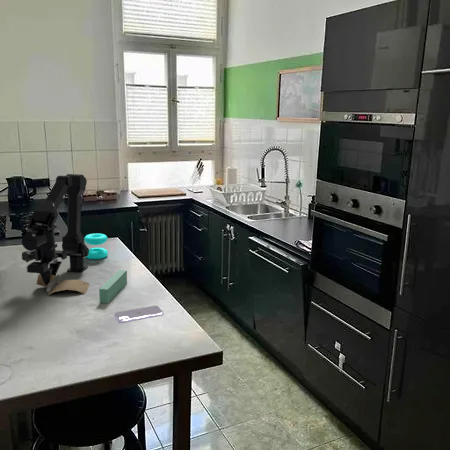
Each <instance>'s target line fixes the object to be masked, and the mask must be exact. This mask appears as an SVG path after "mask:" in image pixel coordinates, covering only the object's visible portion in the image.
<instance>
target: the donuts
mask: <svg viewBox="0 0 450 450" xmlns="http://www.w3.org/2000/svg"><path fill="white" fill-rule="evenodd" d="M107 241H108V236H107V235H106V234H104V233H97V232H96V233H89V234H86V235H85V237H84V243H85V244H87V245H89V246H90V245H92V246H97V245H98V246H99V245H102V244H105V243H106V242H107ZM88 249H89V254H88V256H86V257H85V258H86V259H89V260H101V259H105V258H107V256H108V254H109V252H108V250H107V249H106V248H104V247H92V248H88Z"/></svg>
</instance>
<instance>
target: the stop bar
mask: <svg viewBox="0 0 450 450" xmlns="http://www.w3.org/2000/svg"><path fill="white" fill-rule="evenodd" d="M127 283H128V270H127V269H117V271H116V272H115V273H114V274H113V275H112V276H111V277H110V278H109V279H108V280H107V281H106V282H105V283H104V284H103V285H101V286H100V288H98V294H99V303H101V304H109V303H110V302H111V301H112V300H113V299H114V297H116V295H117V294H119V292H120V291H121V290H123V287H124V286H126V284H127Z"/></svg>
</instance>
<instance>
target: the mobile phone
mask: <svg viewBox="0 0 450 450" xmlns="http://www.w3.org/2000/svg"><path fill="white" fill-rule="evenodd" d="M164 314H165V313H164V311H163V310H162V309H161V308H160V306H159V305H150V306H145V307H138V308H133V309H128V310H127V309H126V310H122V311H116V312H114V314H113V315H114V318H115V319H116V321H117V322H118V323H127V322H132V321H138V320H143V319H148V318H154V317H158V316H159V317H160V316H163V315H164Z"/></svg>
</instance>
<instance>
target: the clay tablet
mask: <svg viewBox="0 0 450 450" xmlns="http://www.w3.org/2000/svg"><path fill="white" fill-rule="evenodd" d="M90 286H91V284H90V283H89V282H87V281H85V280H81V279H65V280H62V281H61V280H60V281H59V283H57V284H56V286H55V287H54V288H53V289H52V290H51V292H50V293H48V294H47V296H49V295H51V294H53V293H56V292H60V291H66V290H68V291H76V292H79V293H81V294H83V295H86V294H87V292H88V290H89V289H88V288H89V287H90Z"/></svg>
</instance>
